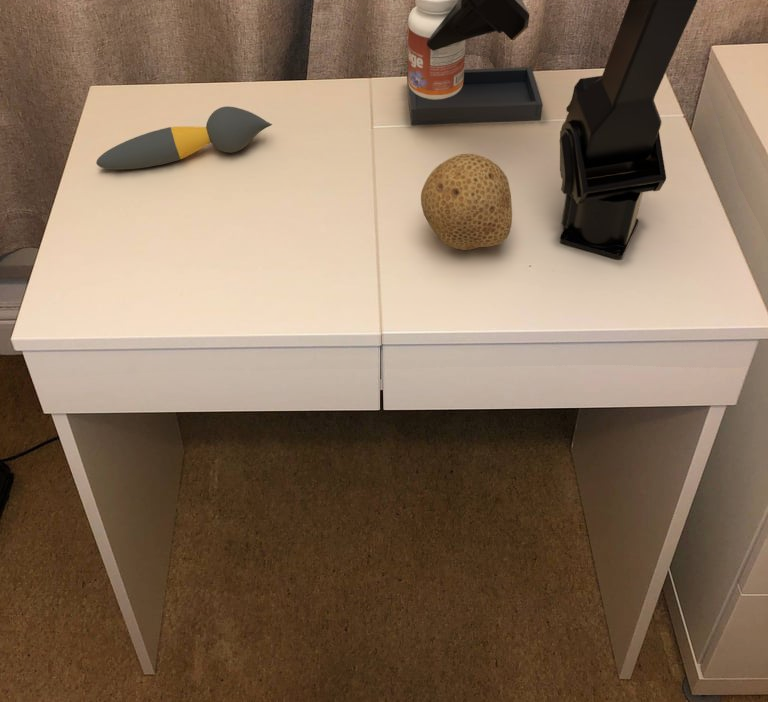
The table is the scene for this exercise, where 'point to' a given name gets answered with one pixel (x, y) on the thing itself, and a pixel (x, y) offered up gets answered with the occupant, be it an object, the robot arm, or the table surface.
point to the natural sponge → (468, 202)
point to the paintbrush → (185, 140)
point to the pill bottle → (433, 53)
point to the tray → (482, 99)
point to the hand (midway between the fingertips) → (424, 31)
